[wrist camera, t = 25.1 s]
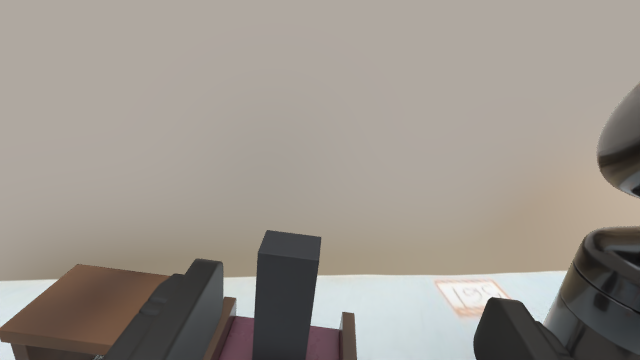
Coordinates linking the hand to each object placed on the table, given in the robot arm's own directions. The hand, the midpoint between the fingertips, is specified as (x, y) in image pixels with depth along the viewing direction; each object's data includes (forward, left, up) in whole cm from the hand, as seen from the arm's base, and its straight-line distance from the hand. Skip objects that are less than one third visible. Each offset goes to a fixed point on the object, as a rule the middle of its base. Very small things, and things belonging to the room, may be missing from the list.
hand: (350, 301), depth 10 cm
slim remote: (-3, -13, -19) cm, 23 cm away
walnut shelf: (+11, -19, -25) cm, 33 cm away
